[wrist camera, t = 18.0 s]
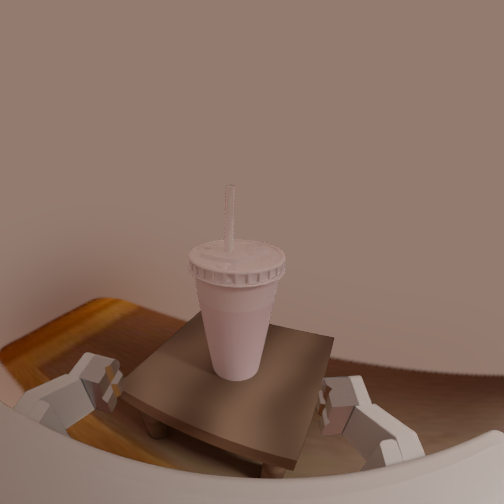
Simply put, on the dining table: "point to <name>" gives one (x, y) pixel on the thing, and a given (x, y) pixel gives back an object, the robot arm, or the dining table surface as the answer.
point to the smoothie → (236, 296)
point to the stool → (234, 394)
